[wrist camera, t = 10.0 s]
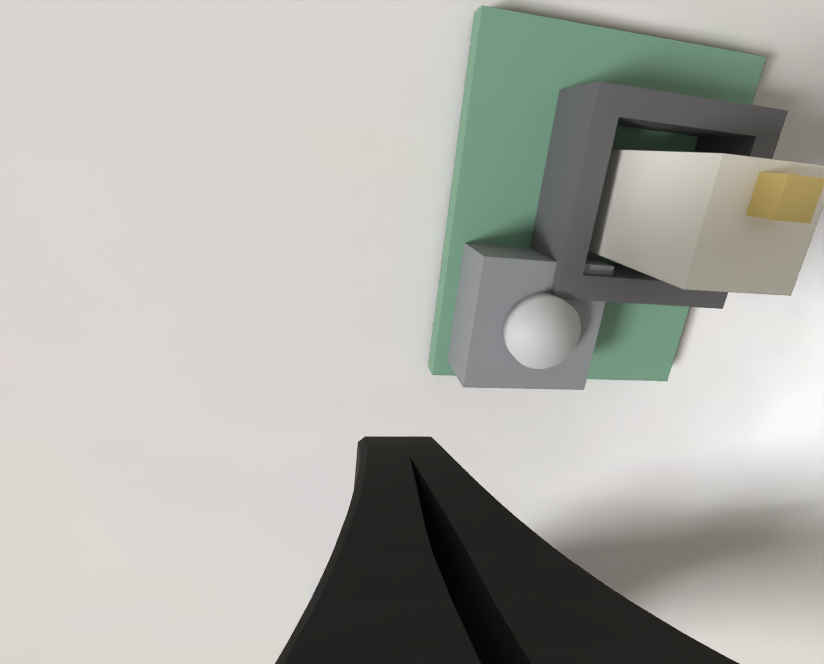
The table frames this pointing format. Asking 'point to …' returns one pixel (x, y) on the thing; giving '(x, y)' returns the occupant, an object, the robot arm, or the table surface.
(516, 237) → the board
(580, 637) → the robot arm
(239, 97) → the table surface
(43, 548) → the table surface
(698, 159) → the plug
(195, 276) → the table surface
